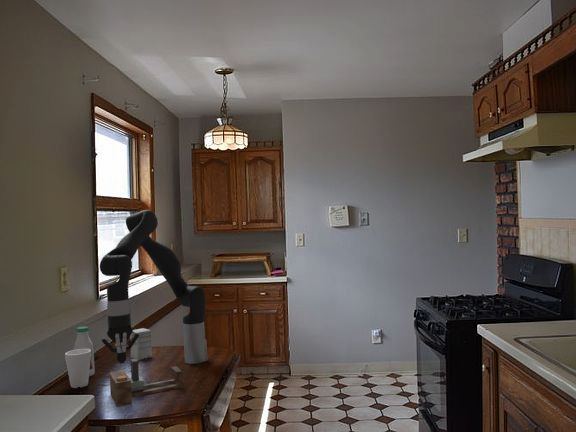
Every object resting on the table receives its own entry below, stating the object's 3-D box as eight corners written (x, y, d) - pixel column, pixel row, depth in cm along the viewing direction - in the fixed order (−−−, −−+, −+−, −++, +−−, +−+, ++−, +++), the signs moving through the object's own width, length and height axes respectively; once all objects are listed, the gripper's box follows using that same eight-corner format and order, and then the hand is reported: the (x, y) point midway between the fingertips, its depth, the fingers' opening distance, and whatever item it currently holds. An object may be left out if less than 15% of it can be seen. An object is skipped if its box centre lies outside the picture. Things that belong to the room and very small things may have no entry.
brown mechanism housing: (176, 381, 195) (176, 361, 195) (187, 392, 182) (186, 370, 182) (110, 394, 184) (109, 372, 184) (116, 406, 171) (115, 383, 171)
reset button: (125, 388, 176) (124, 375, 176) (126, 390, 174) (125, 377, 174) (118, 389, 175) (117, 376, 175) (119, 391, 173) (118, 378, 173)
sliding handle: (140, 385, 189) (139, 356, 189) (144, 390, 182) (143, 361, 182) (126, 388, 186) (125, 359, 186) (130, 393, 180) (128, 363, 180)
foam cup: (76, 390, 190) (74, 356, 191) (61, 387, 195) (59, 353, 195) (97, 383, 199) (96, 350, 199) (82, 380, 203) (81, 347, 204)
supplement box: (130, 357, 235) (129, 330, 235) (145, 354, 240) (143, 327, 240) (137, 360, 230) (136, 332, 230) (152, 356, 235) (151, 329, 235)
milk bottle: (78, 373, 213) (76, 326, 214) (96, 372, 214) (94, 324, 214) (71, 379, 206) (69, 329, 206) (91, 377, 206) (89, 328, 207)
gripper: (136, 308, 181) (139, 357, 181) (97, 313, 175) (100, 363, 175) (140, 311, 174) (143, 361, 174) (100, 317, 168) (102, 369, 168)
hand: (121, 362), depth 175 cm, fingers closed
